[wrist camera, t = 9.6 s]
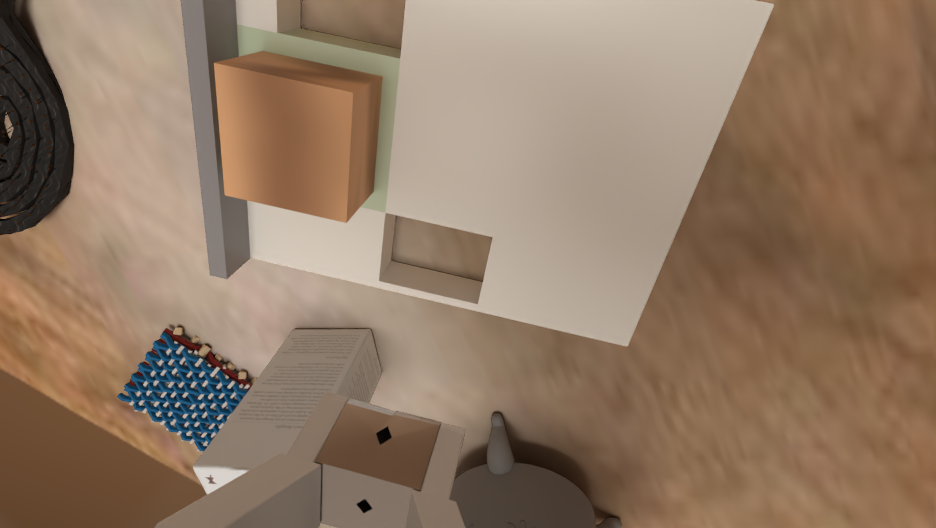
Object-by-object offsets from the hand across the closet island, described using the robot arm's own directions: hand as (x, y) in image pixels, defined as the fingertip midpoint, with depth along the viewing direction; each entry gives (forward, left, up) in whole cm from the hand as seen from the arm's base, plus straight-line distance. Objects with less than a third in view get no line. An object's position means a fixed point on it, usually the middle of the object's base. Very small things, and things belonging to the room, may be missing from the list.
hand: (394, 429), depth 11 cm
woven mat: (+19, +25, -21) cm, 38 cm away
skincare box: (+8, +17, -20) cm, 27 cm away
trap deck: (+2, 0, -20) cm, 20 cm away
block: (+9, 0, -17) cm, 19 cm away
